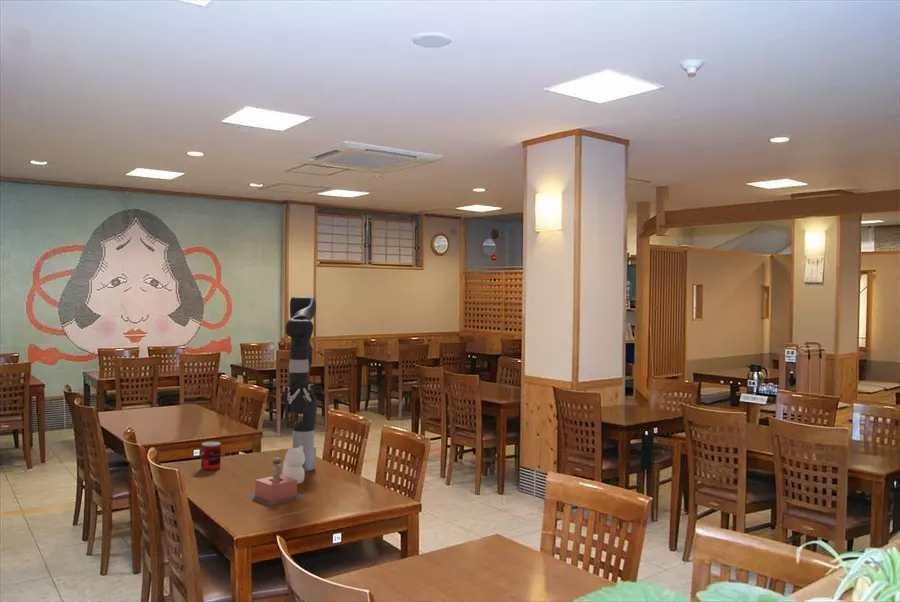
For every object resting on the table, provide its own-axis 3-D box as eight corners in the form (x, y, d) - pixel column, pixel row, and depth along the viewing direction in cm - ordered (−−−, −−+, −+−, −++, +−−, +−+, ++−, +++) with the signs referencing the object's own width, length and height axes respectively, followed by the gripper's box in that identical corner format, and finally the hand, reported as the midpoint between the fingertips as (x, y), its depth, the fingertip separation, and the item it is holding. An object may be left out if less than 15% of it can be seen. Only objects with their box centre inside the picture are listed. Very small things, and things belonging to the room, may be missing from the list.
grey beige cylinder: (277, 494, 263) (278, 457, 263) (281, 495, 261) (282, 458, 261) (270, 495, 261) (271, 458, 261) (275, 497, 259) (275, 459, 259)
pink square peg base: (280, 490, 269) (280, 474, 269) (296, 496, 261) (297, 480, 261) (255, 495, 260) (255, 479, 260) (271, 502, 253) (271, 485, 253)
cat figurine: (291, 488, 274) (292, 450, 274) (273, 481, 282) (274, 444, 282) (310, 483, 281) (311, 446, 281) (291, 477, 289) (292, 441, 289)
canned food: (206, 466, 306) (206, 441, 306) (223, 467, 305) (224, 442, 305) (197, 470, 298) (198, 444, 298) (215, 471, 297) (215, 445, 297)
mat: (282, 488, 272) (282, 487, 272) (306, 497, 261) (306, 496, 261) (245, 496, 260) (245, 495, 260) (269, 505, 249) (269, 504, 249)
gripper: (308, 368, 280) (307, 409, 280) (277, 371, 270) (277, 413, 270) (319, 370, 275) (318, 411, 275) (288, 372, 264) (288, 415, 264)
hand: (298, 412), depth 272 cm, fingers open, 8 cm apart
